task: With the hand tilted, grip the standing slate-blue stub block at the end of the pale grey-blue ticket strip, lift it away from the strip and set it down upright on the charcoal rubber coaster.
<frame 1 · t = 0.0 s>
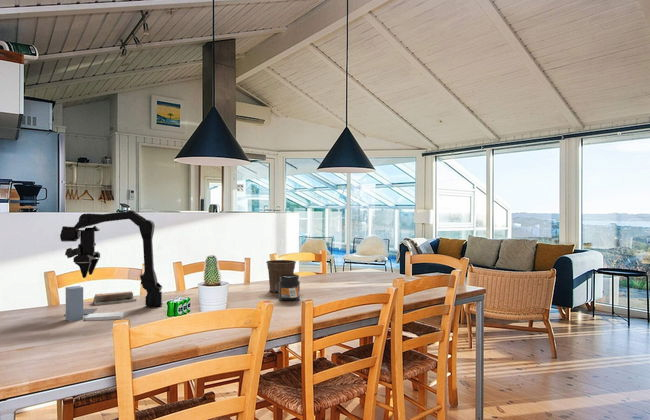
hand: (87, 276, 199), 15 cm above the table, tool pointing down, fingers open, 9 cm apart
stub: (74, 319, 181), on the table
ticket strip: (105, 317, 183), on the table
packaged product: (115, 302, 215), on the table
plant pot: (281, 291, 244), on the table
supplement container: (289, 299, 221), on the table
coaster: (81, 312, 192), on the table
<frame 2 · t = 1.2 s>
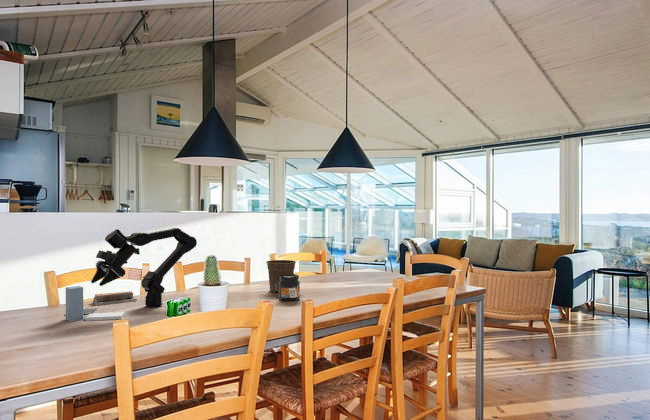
hand: (95, 284, 187), 13 cm above the table, tool tilted 45°, fingers open, 9 cm apart
nothing on the table moved.
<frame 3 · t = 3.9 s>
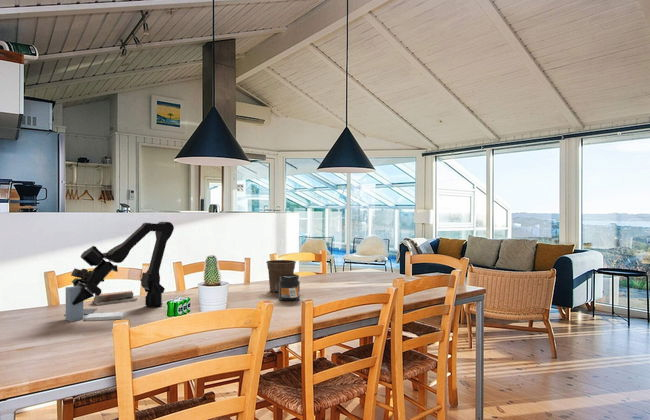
hand: (70, 303, 180), 7 cm above the table, tool tilted 45°, fingers closed on stub, 5 cm apart
stub: (74, 319, 181), on the table, touching gripper
when the fingers open (8 cm above the table, at t = 7.2 s): stub stays where it is, resting on coaster.
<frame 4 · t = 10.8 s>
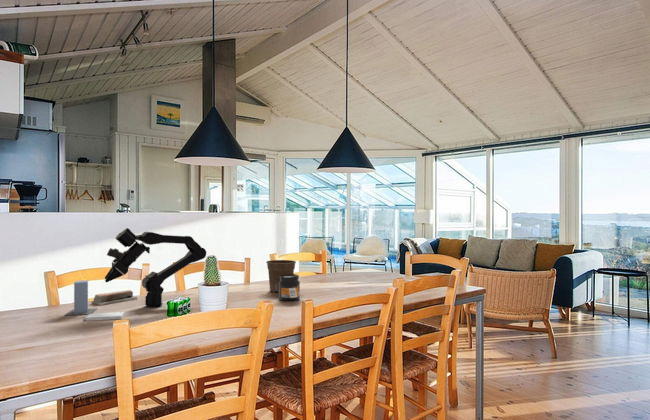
hand: (105, 280, 195), 14 cm above the table, tool tilted 45°, fingers open, 9 cm apart
stub: (81, 311, 192), resting on coaster
at the end: stub inside the target area on the coaster (0.0 cm from its centre), point 0.4 cm above the coaster's base; stub tilted 0°; the gripper is holding nothing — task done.
